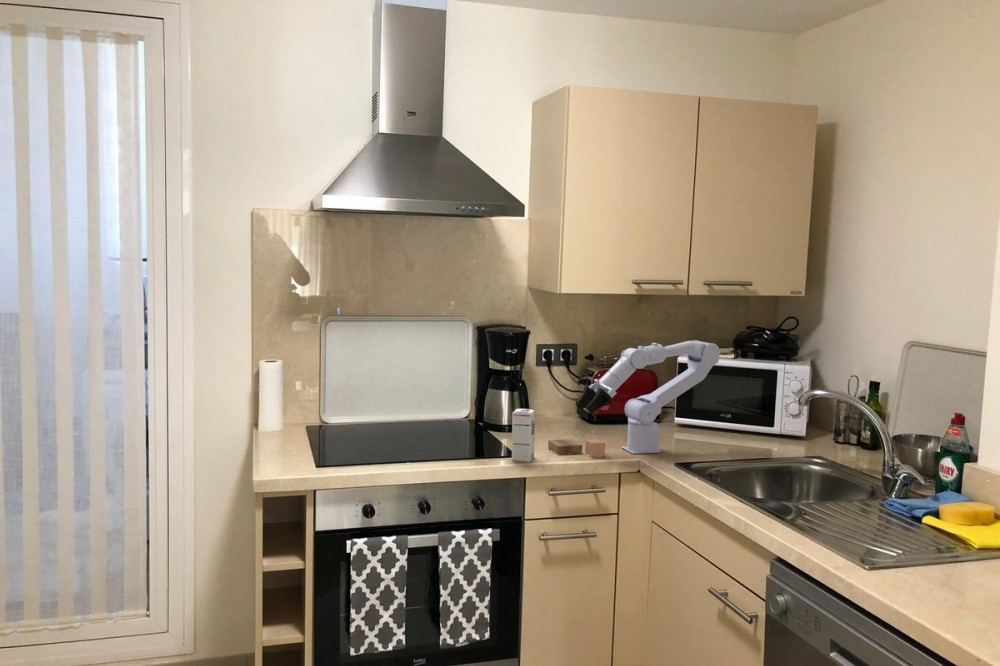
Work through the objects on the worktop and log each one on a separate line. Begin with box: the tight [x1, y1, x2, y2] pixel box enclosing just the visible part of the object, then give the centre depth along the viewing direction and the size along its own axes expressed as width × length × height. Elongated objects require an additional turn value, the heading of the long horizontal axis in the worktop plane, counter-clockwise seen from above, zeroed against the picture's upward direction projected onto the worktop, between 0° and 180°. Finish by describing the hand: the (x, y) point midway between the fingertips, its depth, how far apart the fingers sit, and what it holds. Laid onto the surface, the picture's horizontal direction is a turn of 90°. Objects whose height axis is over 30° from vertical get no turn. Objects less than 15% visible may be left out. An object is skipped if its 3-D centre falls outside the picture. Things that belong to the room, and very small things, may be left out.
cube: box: [584, 438, 606, 458], centre depth 251 cm, size 4×4×4 cm
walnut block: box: [547, 438, 583, 455], centre depth 256 cm, size 8×8×3 cm
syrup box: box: [511, 408, 536, 463], centre depth 244 cm, size 6×6×14 cm
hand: (583, 409), depth 250 cm, fingers open, 7 cm apart
